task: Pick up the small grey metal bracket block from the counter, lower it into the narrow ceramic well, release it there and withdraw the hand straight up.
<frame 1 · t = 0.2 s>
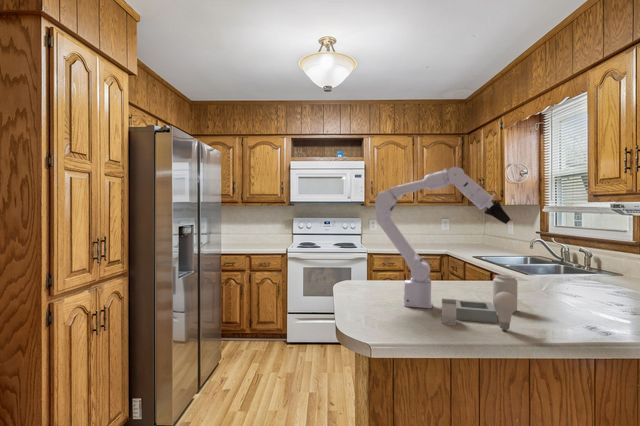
hand: (506, 221, 122), 31 cm above the table, tool tilted 45°, fingers open, 7 cm apart
well block: (473, 315, 119), on the table
bracket: (448, 322, 112), on the table
lightbulb: (504, 331, 105), on the table
can: (504, 310, 126), on the table
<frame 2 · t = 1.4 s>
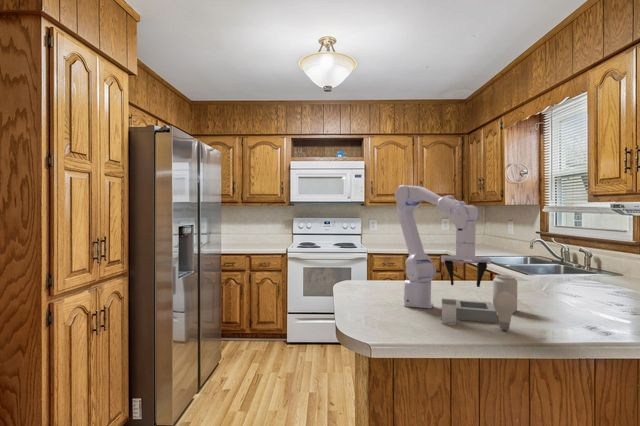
hand: (465, 285, 116), 10 cm above the table, tool pointing down, fingers open, 7 cm apart
nothing on the table moved.
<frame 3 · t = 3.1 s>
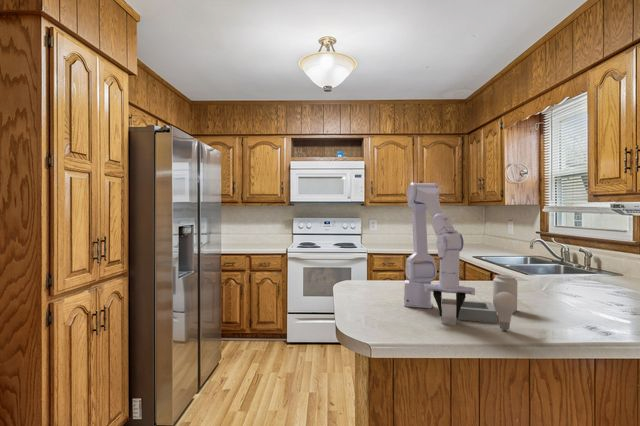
hand: (448, 316, 112), 2 cm above the table, tool pointing down, fingers closed on bracket, 4 cm apart
bracket: (448, 322, 112), on the table, touching gripper
everything else where it was.
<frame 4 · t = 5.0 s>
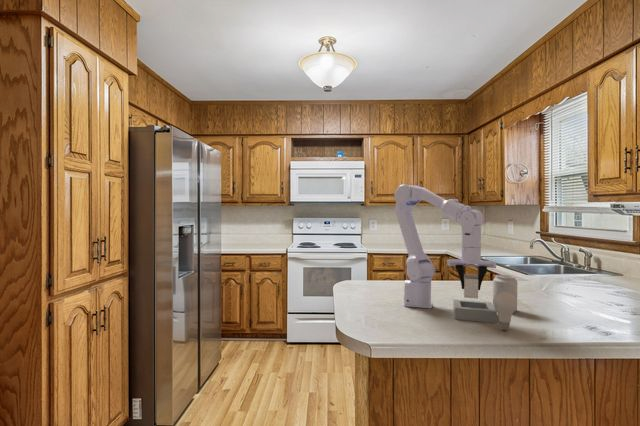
hand: (470, 289, 118), 9 cm above the table, tool pointing down, fingers closed on bracket, 4 cm apart
bracket: (470, 296, 118), point 7 cm above the table, touching gripper
everything else where it was.
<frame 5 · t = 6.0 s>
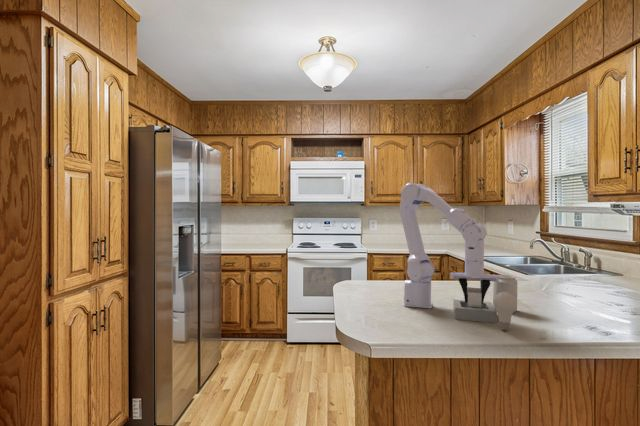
hand: (473, 302, 119), 4 cm above the table, tool pointing down, fingers closed on bracket, 4 cm apart
bracket: (473, 309, 119), point 2 cm above the table, touching gripper
everything else where it was.
when the fingers open (4 cm above the table, at t = 6.6 s): bracket stays where it is, resting on well block.
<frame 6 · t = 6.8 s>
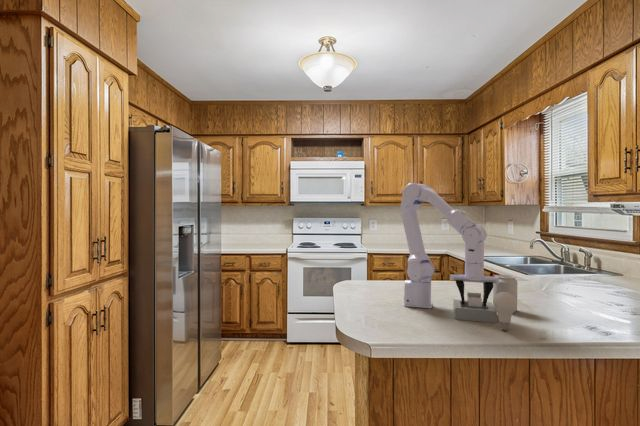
hand: (473, 304, 119), 4 cm above the table, tool pointing down, fingers open, 6 cm apart
bracket: (473, 314, 119), resting on well block
everything else where it was.
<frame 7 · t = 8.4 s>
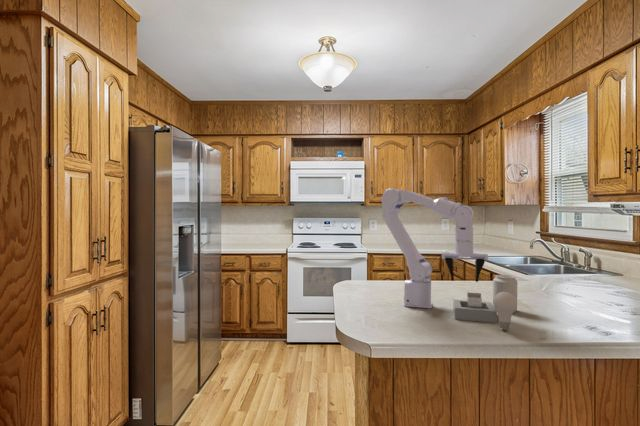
hand: (464, 280, 124), 10 cm above the table, tool pointing down, fingers open, 7 cm apart
nothing on the table moved.
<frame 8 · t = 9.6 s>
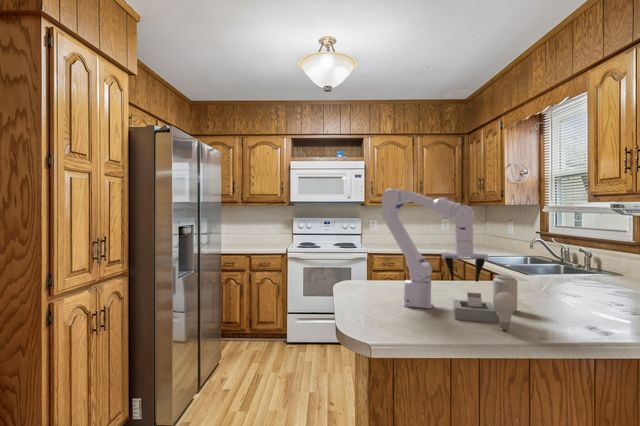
hand: (464, 280, 124), 10 cm above the table, tool pointing down, fingers open, 7 cm apart
nothing on the table moved.
at the end: bracket 0.4 cm off-centre on the well block, point 0.5 cm above the well block's base; the gripper is holding nothing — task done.
